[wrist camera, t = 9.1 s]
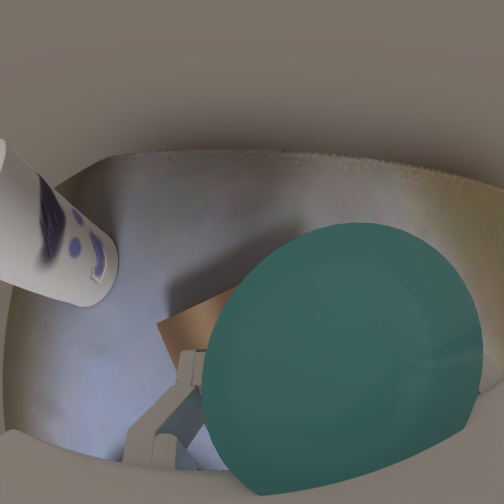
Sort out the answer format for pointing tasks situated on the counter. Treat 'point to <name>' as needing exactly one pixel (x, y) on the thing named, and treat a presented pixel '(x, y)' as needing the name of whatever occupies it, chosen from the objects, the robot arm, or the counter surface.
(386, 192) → the counter surface
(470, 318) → the teal rounded cylinder
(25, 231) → the container
